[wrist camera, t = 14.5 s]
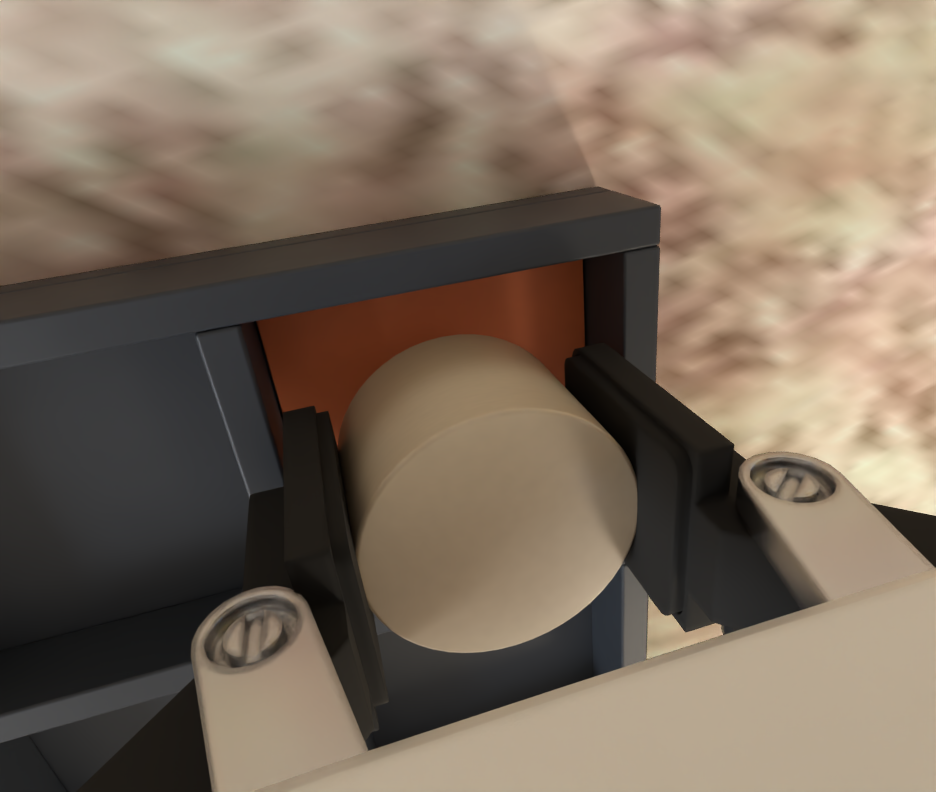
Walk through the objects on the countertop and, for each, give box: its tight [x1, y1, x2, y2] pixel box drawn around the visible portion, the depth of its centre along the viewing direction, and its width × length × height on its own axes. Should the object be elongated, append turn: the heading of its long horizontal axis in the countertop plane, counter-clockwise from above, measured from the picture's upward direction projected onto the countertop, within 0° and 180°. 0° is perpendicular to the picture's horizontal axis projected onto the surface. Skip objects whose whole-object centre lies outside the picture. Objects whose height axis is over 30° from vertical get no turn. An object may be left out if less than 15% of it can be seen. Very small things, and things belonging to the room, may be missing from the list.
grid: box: [0, 187, 661, 792], centre depth 15 cm, size 22×22×2 cm
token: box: [338, 334, 637, 653], centre depth 10 cm, size 4×4×3 cm
